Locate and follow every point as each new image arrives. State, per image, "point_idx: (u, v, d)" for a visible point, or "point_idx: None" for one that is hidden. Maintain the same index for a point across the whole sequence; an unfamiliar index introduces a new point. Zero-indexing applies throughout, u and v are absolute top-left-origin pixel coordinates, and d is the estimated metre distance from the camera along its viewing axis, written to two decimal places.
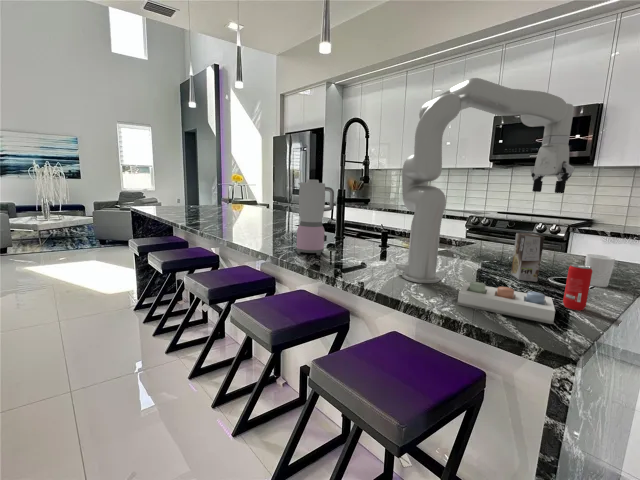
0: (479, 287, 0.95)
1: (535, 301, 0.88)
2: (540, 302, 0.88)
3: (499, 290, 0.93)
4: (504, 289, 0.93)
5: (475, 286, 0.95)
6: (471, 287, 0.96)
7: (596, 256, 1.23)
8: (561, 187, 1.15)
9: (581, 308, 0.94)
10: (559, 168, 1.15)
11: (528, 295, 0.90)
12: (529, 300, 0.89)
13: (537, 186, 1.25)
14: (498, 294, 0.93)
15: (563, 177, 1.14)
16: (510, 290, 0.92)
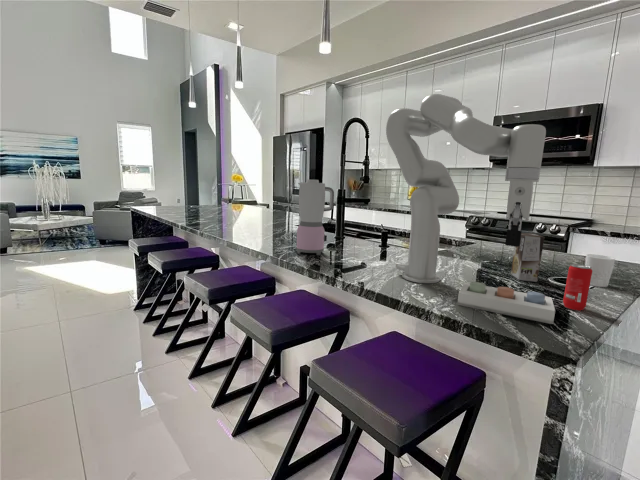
0: (479, 287, 0.95)
1: (535, 301, 0.88)
2: (540, 302, 0.88)
3: (499, 290, 0.93)
4: (504, 289, 0.93)
5: (475, 286, 0.95)
6: (471, 287, 0.96)
7: (596, 256, 1.23)
8: None
9: (581, 308, 0.94)
10: None
11: (528, 295, 0.90)
12: (529, 300, 0.89)
13: None
14: (498, 294, 0.93)
15: None
16: (510, 290, 0.92)
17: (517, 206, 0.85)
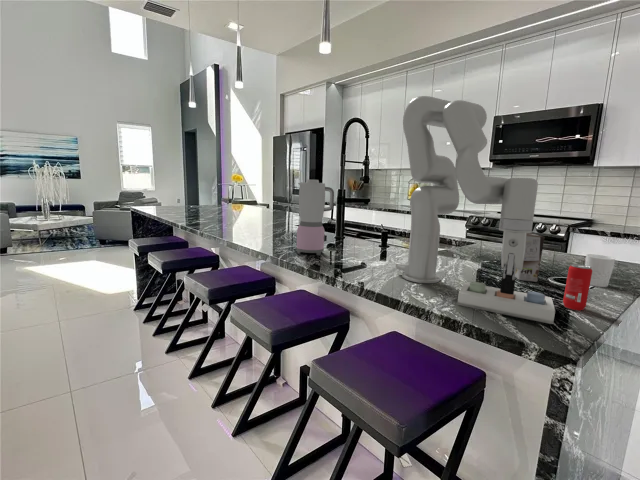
0: (479, 287, 0.95)
1: (535, 301, 0.88)
2: (540, 302, 0.88)
3: (498, 294, 0.93)
4: (503, 293, 0.93)
5: (475, 286, 0.95)
6: (471, 287, 0.96)
7: (596, 256, 1.23)
8: None
9: (581, 308, 0.94)
10: None
11: (528, 295, 0.90)
12: (529, 300, 0.89)
13: None
14: None
15: None
16: (509, 294, 0.92)
17: (510, 260, 0.88)
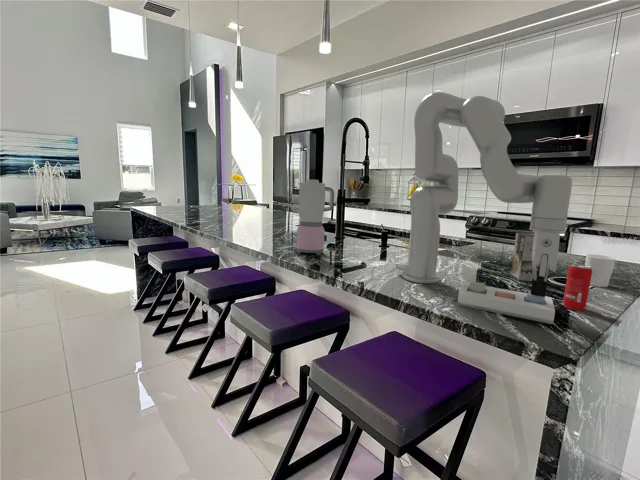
0: (479, 287, 0.95)
1: (535, 301, 0.88)
2: (540, 303, 0.88)
3: (498, 295, 0.93)
4: (503, 294, 0.93)
5: (475, 286, 0.95)
6: (471, 287, 0.96)
7: (596, 256, 1.23)
8: None
9: (581, 308, 0.94)
10: None
11: (528, 295, 0.90)
12: (529, 300, 0.89)
13: None
14: None
15: None
16: (509, 295, 0.92)
17: (543, 261, 0.84)
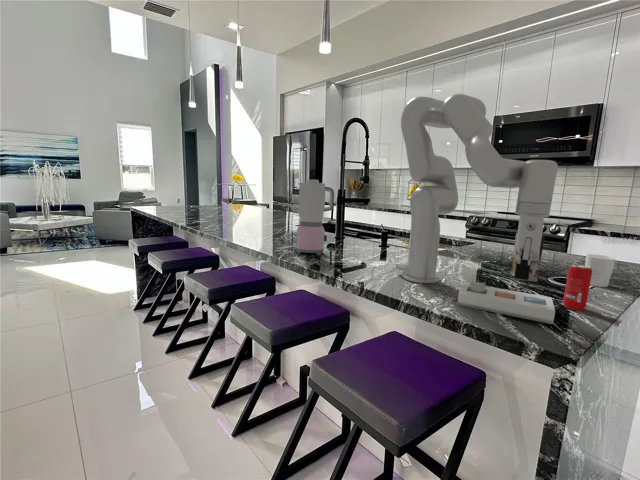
0: (479, 287, 0.95)
1: None
2: None
3: (498, 295, 0.93)
4: (503, 294, 0.93)
5: (475, 286, 0.95)
6: (471, 287, 0.96)
7: (596, 256, 1.23)
8: None
9: (581, 308, 0.94)
10: None
11: (527, 300, 0.90)
12: None
13: None
14: None
15: None
16: (509, 295, 0.92)
17: (527, 245, 0.85)
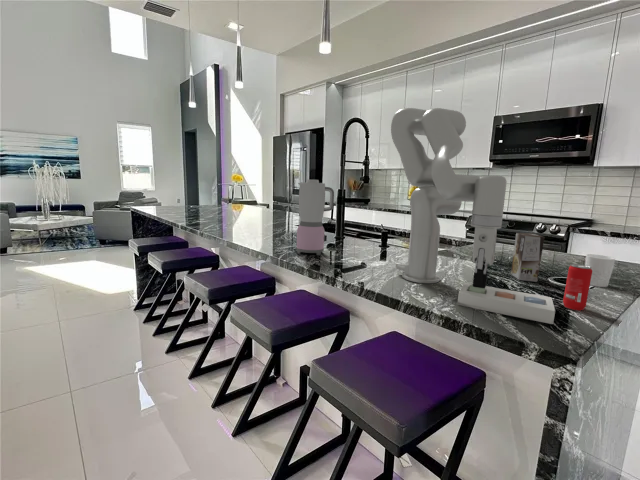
0: (479, 289, 0.95)
1: None
2: None
3: (498, 295, 0.93)
4: (503, 294, 0.93)
5: (475, 288, 0.95)
6: (471, 289, 0.96)
7: (596, 256, 1.23)
8: None
9: (581, 308, 0.94)
10: None
11: (527, 300, 0.90)
12: None
13: None
14: None
15: None
16: (509, 295, 0.92)
17: (481, 255, 0.91)
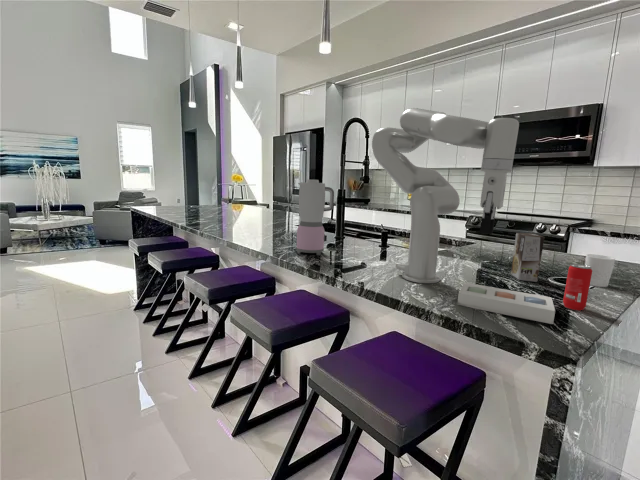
0: (478, 292, 0.95)
1: None
2: None
3: (498, 295, 0.93)
4: (503, 294, 0.93)
5: (474, 291, 0.95)
6: None
7: (596, 256, 1.23)
8: None
9: (581, 308, 0.94)
10: None
11: (527, 300, 0.90)
12: None
13: None
14: None
15: None
16: (509, 295, 0.92)
17: (489, 198, 0.91)
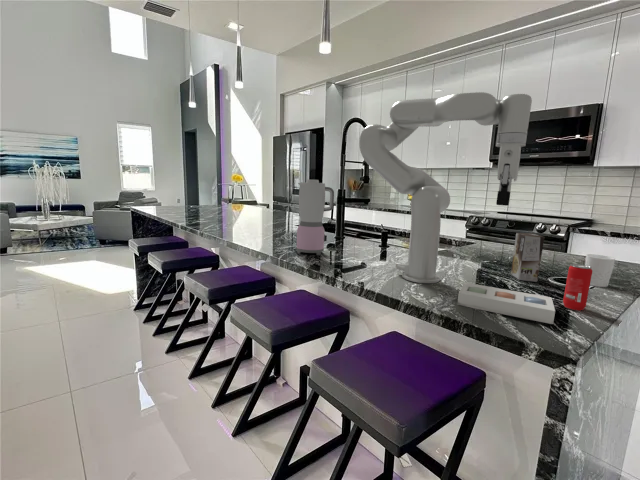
0: (478, 292, 0.95)
1: None
2: None
3: (498, 295, 0.93)
4: (503, 294, 0.93)
5: (474, 291, 0.95)
6: None
7: (596, 256, 1.23)
8: None
9: (581, 308, 0.94)
10: None
11: (527, 300, 0.90)
12: None
13: None
14: None
15: None
16: (509, 295, 0.92)
17: (506, 171, 0.96)
